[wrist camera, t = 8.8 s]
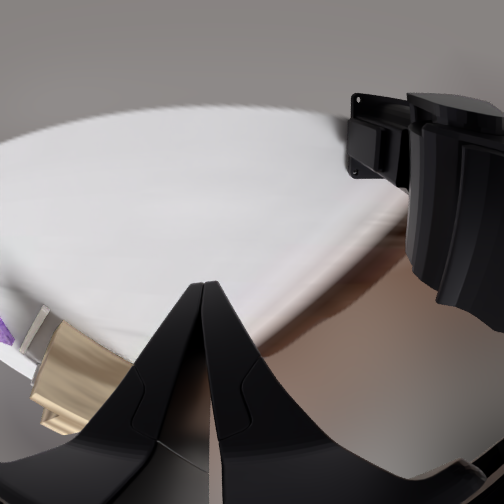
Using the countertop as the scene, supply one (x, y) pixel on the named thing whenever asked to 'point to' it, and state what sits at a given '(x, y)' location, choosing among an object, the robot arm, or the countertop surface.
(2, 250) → the countertop surface
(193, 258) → the countertop surface
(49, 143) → the countertop surface
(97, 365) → the t block
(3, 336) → the sponges
